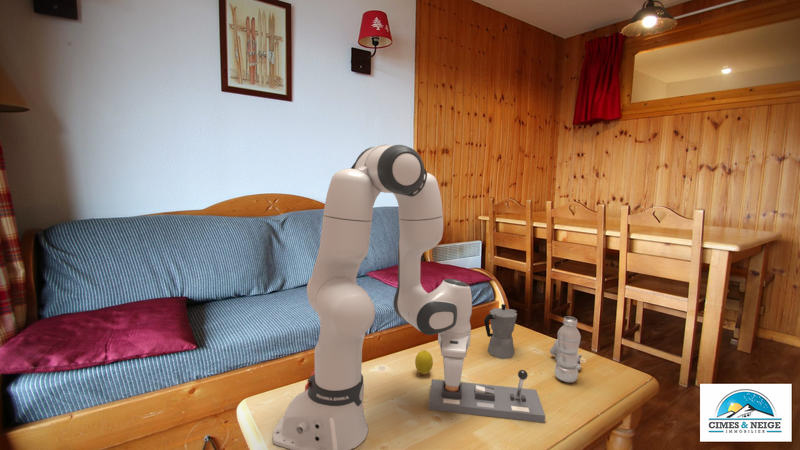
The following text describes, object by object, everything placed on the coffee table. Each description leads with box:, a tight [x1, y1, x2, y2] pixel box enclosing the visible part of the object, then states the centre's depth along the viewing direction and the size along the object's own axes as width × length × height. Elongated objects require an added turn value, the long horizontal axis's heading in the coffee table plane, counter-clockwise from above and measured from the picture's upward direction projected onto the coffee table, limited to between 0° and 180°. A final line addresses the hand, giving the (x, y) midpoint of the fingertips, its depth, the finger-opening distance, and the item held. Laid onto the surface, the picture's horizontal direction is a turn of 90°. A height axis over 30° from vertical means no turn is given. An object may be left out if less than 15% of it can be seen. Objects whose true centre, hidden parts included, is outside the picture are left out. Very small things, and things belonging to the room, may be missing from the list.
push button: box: [445, 385, 458, 392], centre depth 108 cm, size 4×4×2 cm
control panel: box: [428, 378, 546, 424], centre depth 107 cm, size 30×12×4 cm, turn 81°
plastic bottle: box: [554, 315, 582, 384], centre depth 118 cm, size 6×7×20 cm
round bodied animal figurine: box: [549, 338, 583, 372], centre depth 129 cm, size 7×12×8 cm, turn 13°
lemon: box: [414, 349, 434, 375], centre depth 121 cm, size 6×6×8 cm
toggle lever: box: [515, 369, 528, 399], centre depth 102 cm, size 2×2×12 cm
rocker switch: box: [475, 385, 494, 394], centre depth 106 cm, size 5×2×1 cm, turn 82°
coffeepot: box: [483, 303, 518, 360], centre depth 135 cm, size 15×9×18 cm, turn 122°
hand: (452, 383), depth 108 cm, fingers closed, pressing on push button
